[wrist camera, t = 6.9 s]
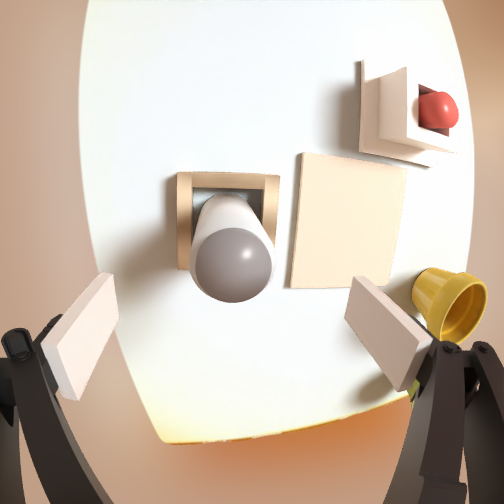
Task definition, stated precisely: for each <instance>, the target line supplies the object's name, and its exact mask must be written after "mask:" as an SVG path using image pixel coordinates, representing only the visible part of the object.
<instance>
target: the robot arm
mask: <svg viewBox="0 0 504 504" xmlns="http://www.w3.org/2000/svg"><path fill="white" fill-rule="evenodd" d="M119 318H120V317H119V311H118V306H117V299H116V293H115V286H114V279H113V273H100V274H99V275H98V276H97V277H96V278H95V279H94V280H93V281H92V282H91V283H90V285H89V286H88V287H87V288H86V289H85V290H84V291H83V292H82V294H81V295H80V296H79V297H78V298H77V299H76V300H75V302H74V303H73V304H72V305H71V306H70V307H69V309H68V310H67V311H66V312H65V314H59V315H58V316H56V317H54V318H53V319H51V321H50V322H49V323H48V324H47V327H45V328H44V329H43V331H42V332H41V333H40V334H39V335H38V336H37V338H36V339H35V340H34V341H33V342H32V339H31V336H30V333H29V331H28V330H26V329H24V328H15V329H12V330H10V331H8V332H7V333H5V334H4V335H3V337H2V339H1V343H2V345H3V348H4V350H5V352H6V355H7V357H8V358H0V504H26V503H25V497H24V491H23V484H22V476H21V465H20V452H19V418H20V422H21V426H22V429H23V433H24V437H25V440H26V443H27V446H28V449H29V452H30V455H31V458H32V461H33V464H34V467H35V469H36V471H37V474H38V477H39V479H40V482H41V484H42V486H43V488H44V491H45V493H46V495H47V497H48V500H49V502H50V504H114V503H113V502H112V500H111V499H110V498H109V496H108V494H107V493H106V492H105V490H104V489H103V487H102V485H101V484H100V482H99V481H98V479H97V477H96V476H95V474H94V473H93V471H92V469H91V467H90V466H89V464H88V462H87V460H86V458H85V457H84V455H83V453H82V452H81V449H80V447H79V445H78V443H77V441H76V440H75V437H74V435H73V433H72V431H71V429H70V427H69V425H68V422H67V420H66V418H65V416H64V413H63V411H62V409H61V406H60V404H59V401H58V399H57V397H56V395H55V393H56V391H57V389H58V388H59V389H60V392H61V394H62V396H63V398H67V399H71V400H76V401H79V399H80V397H81V395H82V393H83V390H84V388H85V386H86V384H87V382H88V380H89V377H90V375H91V373H92V371H93V369H94V367H95V365H96V363H97V361H98V358H99V357H100V355H101V353H102V351H103V349H104V347H105V345H106V343H107V341H108V339H109V337H110V335H111V333H112V331H113V329H114V328H115V326H116V324H117V322H118V320H119ZM344 318H345V320H346V321H347V322H348V324H349V325H350V327H351V328H352V329H353V331H354V332H355V333H356V335H357V336H358V338H359V339H360V340H361V342H362V343H363V344H364V346H365V347H366V349H367V350H368V351H369V353H370V354H371V356H372V357H373V358H374V360H375V361H376V363H377V364H378V365H379V367H380V368H381V370H382V371H383V372H384V374H385V375H386V377H387V378H388V380H389V381H390V382H391V384H392V385H393V387H394V388H395V390H396V391H397V392H401V391H405V390H408V389H411V387H412V385H413V383H414V381H415V379H416V380H417V381H418V382H419V383H420V384H419V386H418V388H417V390H416V392H415V394H414V395H413V397H412V399H411V401H410V402H413V400H414V399H415V400H414V405H413V409H412V414H411V418H410V423H409V427H408V430H407V434H406V438H405V441H404V445H403V448H402V452H401V455H400V458H399V461H398V465H397V467H396V470H395V473H394V476H393V479H392V481H391V484H390V487H389V489H388V492H387V495H386V497H385V500H384V502H383V504H465V500H466V494H467V485H466V484H465V483H460V482H459V476H460V468H461V461H462V450H463V448H464V455H465V462H466V469H467V478H468V489H469V504H504V367H503V365H502V363H501V362H500V360H499V358H498V356H497V354H496V352H495V351H494V349H493V348H492V347H491V346H490V345H489V344H488V343H486V342H481V341H476V342H474V344H473V346H472V348H471V350H470V351H462V350H461V348H460V347H459V346H458V345H457V344H455V343H453V342H451V341H439V340H438V339H437V338H436V337H435V336H434V335H433V334H432V333H431V332H430V331H429V330H428V329H426V328H425V327H424V326H423V325H422V324H421V323H420V322H419V321H418V320H417V319H416V318H415V317H413V316H411V315H409V314H407V313H405V312H404V311H403V310H402V309H401V308H400V307H399V306H398V305H397V304H396V303H394V302H393V301H392V300H391V299H390V298H389V297H388V296H387V295H386V294H385V293H383V292H382V291H381V290H380V289H379V288H378V287H377V286H376V285H374V284H373V283H372V282H371V281H370V280H369V279H368V278H367V277H365V276H353V279H352V284H351V289H350V294H349V299H348V304H347V308H346V313H345V317H344ZM479 382H480V385H479V390H477V386H478V384H479Z"/></svg>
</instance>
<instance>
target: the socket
mask: <svg viewBox="0 0 504 504" xmlns="http://www.w3.org/2000/svg"><path fill="white" fill-rule="evenodd" d="M279 184H280V176H279V175H272V174H255V173H232V172H178V173H177V253H178V270H190V269H189V255H190V250H191V246H192V242H193V187H208V188H243V189H262V195H261V211H260V223H261V225H262V227H263V228H264V230H265V232H266V233H267V235H268V237H269V238H270V240H271V242H272V244H273V246H274V248H275V236H276V224H277V211H278V198H279Z"/></svg>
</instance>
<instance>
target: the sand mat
mask: <svg viewBox="0 0 504 504" xmlns="http://www.w3.org/2000/svg"><path fill="white" fill-rule="evenodd" d="M406 173H407V169H406V168H402V167H397V166H392V165H386V164H381V163H375V162H370V161H364V160H358V159H351V158H344V157H337V156H330V155H322V154H314V153H305V152H302V161H301V175H300V188H299V200H298V211H297V222H296V232H295V242H294V252H293V261H292V270H291V279H290V287H291V288H330V287H351V284H352V279H353V276H365V277H367V278H368V279H369V280H370V281H371V282H372V283H373V284H374V285H376V286H387V285H388V280H389V276H390V272H391V267H392V263H393V258H394V253H395V248H396V243H397V237H398V232H399V226H400V220H401V213H402V207H403V199H404V191H405V183H406Z"/></svg>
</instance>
